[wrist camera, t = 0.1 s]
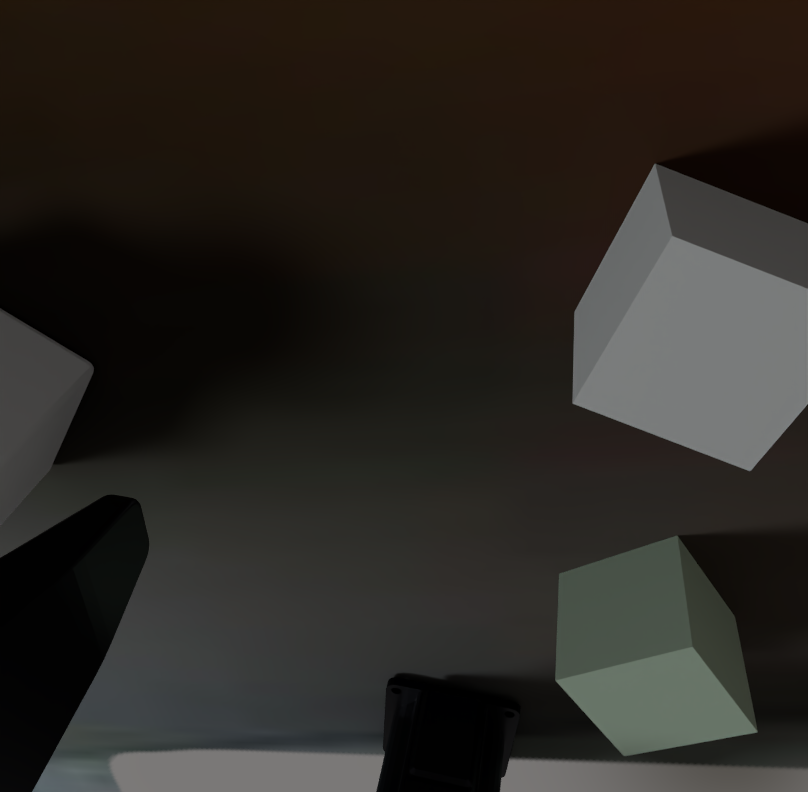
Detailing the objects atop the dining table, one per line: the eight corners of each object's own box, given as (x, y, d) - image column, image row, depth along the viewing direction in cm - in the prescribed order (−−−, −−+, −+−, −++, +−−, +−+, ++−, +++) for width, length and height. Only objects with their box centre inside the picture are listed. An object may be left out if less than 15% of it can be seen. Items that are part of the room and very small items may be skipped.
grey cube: (721, 367, 23) (750, 471, 19) (574, 310, 23) (572, 403, 19) (823, 228, 20) (881, 317, 16) (654, 162, 20) (672, 235, 16)
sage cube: (677, 533, 28) (692, 646, 24) (734, 614, 29) (758, 732, 25) (559, 572, 30) (555, 680, 26) (619, 645, 32) (623, 756, 28)
